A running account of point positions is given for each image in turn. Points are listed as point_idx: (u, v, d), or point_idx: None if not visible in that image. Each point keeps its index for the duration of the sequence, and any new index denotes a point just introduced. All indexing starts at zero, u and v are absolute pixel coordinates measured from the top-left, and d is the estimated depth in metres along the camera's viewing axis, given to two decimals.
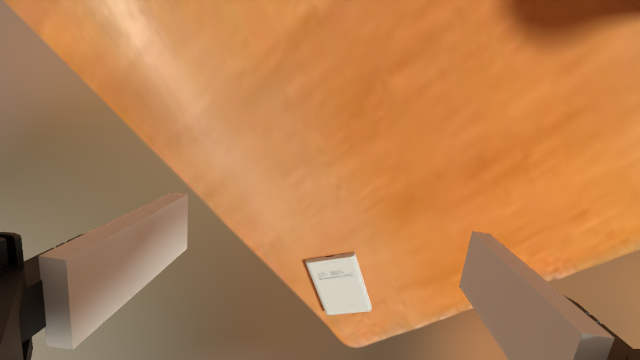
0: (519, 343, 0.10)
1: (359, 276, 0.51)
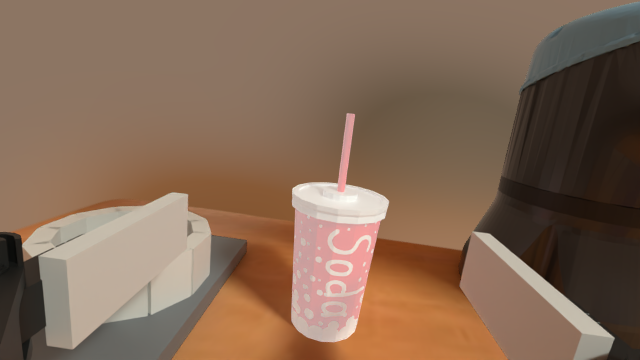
0: (519, 344, 0.10)
1: None
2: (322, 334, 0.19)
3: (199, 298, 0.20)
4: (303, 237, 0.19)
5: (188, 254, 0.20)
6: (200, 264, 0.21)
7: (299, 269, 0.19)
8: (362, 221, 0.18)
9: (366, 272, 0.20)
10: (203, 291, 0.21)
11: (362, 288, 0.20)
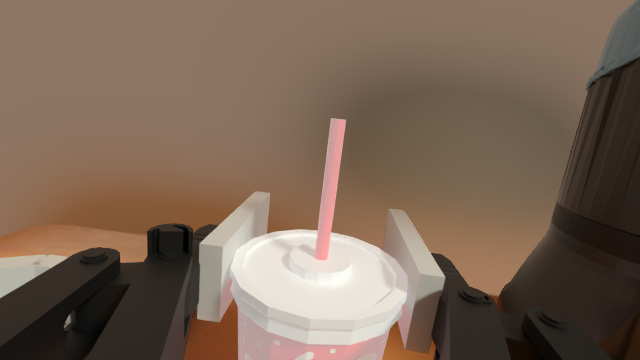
0: None
1: None
2: None
3: None
4: (248, 353, 0.10)
5: None
6: None
7: None
8: (359, 334, 0.09)
9: None
10: None
11: None
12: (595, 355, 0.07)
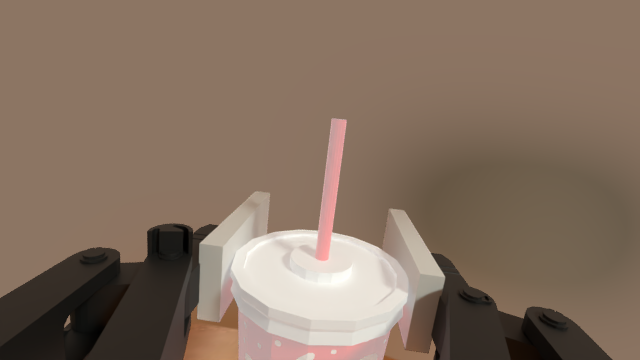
0: None
1: None
2: None
3: None
4: (249, 354, 0.10)
5: None
6: None
7: None
8: (360, 335, 0.09)
9: None
10: None
11: None
12: (594, 355, 0.07)
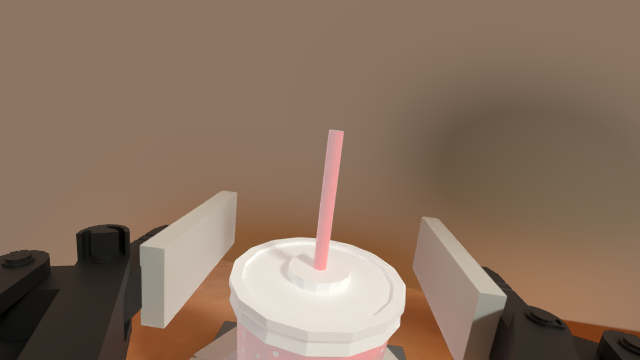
0: (445, 310, 0.11)
1: None
2: None
3: None
4: None
5: None
6: None
7: None
8: (358, 345, 0.09)
9: None
10: None
11: None
12: None
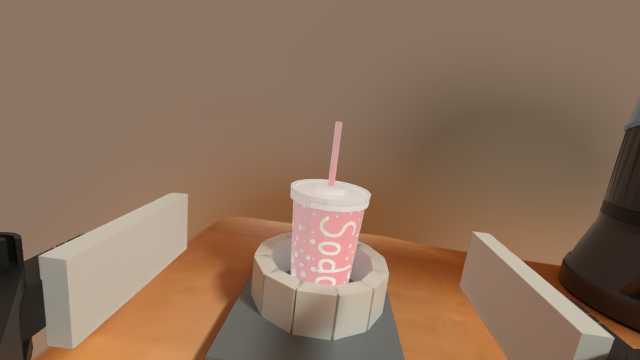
0: (519, 343, 0.10)
1: None
2: None
3: (390, 315, 0.24)
4: (300, 223, 0.23)
5: (387, 278, 0.23)
6: None
7: (297, 250, 0.23)
8: (347, 209, 0.22)
9: (352, 253, 0.24)
10: (387, 308, 0.25)
11: (349, 266, 0.24)
12: None
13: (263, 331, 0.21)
